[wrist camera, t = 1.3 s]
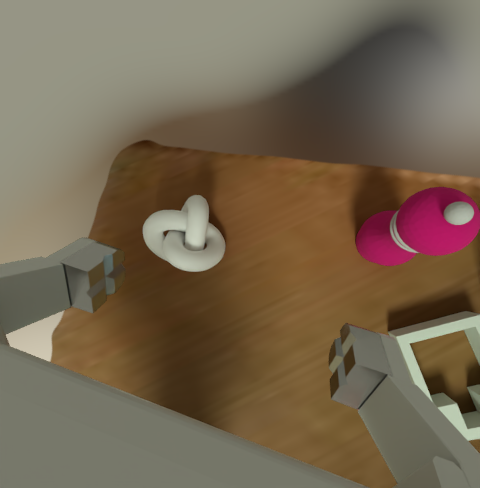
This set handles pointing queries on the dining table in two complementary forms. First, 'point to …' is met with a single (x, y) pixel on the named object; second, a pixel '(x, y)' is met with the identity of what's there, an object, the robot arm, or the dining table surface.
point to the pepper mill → (420, 227)
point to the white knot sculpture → (185, 236)
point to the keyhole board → (467, 424)
